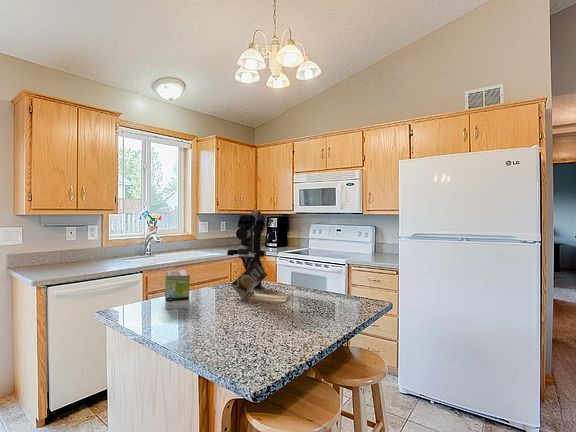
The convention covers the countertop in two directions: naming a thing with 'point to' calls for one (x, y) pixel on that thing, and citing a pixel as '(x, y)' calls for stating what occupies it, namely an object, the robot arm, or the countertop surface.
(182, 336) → the countertop surface
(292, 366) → the countertop surface
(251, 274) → the coffee box
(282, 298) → the maple board
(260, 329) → the countertop surface
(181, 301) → the tea box
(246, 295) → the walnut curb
